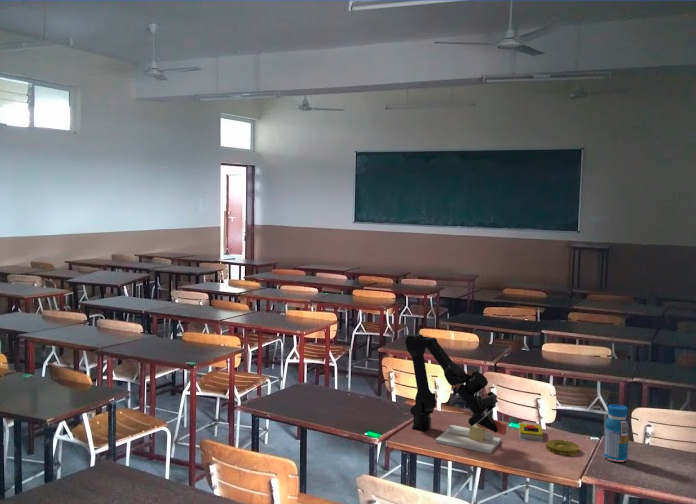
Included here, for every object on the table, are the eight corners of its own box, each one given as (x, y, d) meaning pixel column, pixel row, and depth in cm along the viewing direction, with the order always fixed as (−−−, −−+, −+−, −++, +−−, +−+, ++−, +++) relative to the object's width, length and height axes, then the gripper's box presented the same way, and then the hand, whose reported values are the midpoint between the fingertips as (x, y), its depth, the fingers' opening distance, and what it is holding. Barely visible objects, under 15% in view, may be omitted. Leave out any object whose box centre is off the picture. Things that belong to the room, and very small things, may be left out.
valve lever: (474, 424, 250) (474, 414, 250) (478, 423, 252) (478, 413, 251) (502, 435, 239) (503, 424, 239) (506, 433, 240) (506, 423, 240)
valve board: (435, 442, 248) (435, 426, 248) (448, 431, 261) (448, 416, 261) (490, 453, 237) (490, 437, 237) (500, 441, 251) (501, 426, 250)
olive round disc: (547, 443, 250) (547, 437, 250) (578, 447, 246) (579, 442, 246) (545, 453, 239) (545, 448, 239) (578, 458, 235) (578, 453, 235)
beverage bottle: (603, 461, 232) (605, 408, 231) (603, 453, 240) (605, 402, 239) (628, 465, 229) (631, 411, 228) (627, 457, 237) (629, 405, 236)
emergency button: (519, 430, 252) (519, 418, 267) (519, 441, 253) (518, 428, 267) (543, 432, 250) (541, 421, 265) (543, 443, 250) (541, 431, 265)
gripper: (478, 392, 234) (506, 427, 229) (492, 381, 250) (518, 413, 245) (456, 409, 238) (483, 443, 233) (472, 397, 254) (497, 429, 250)
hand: (496, 431), depth 240 cm, fingers closed
